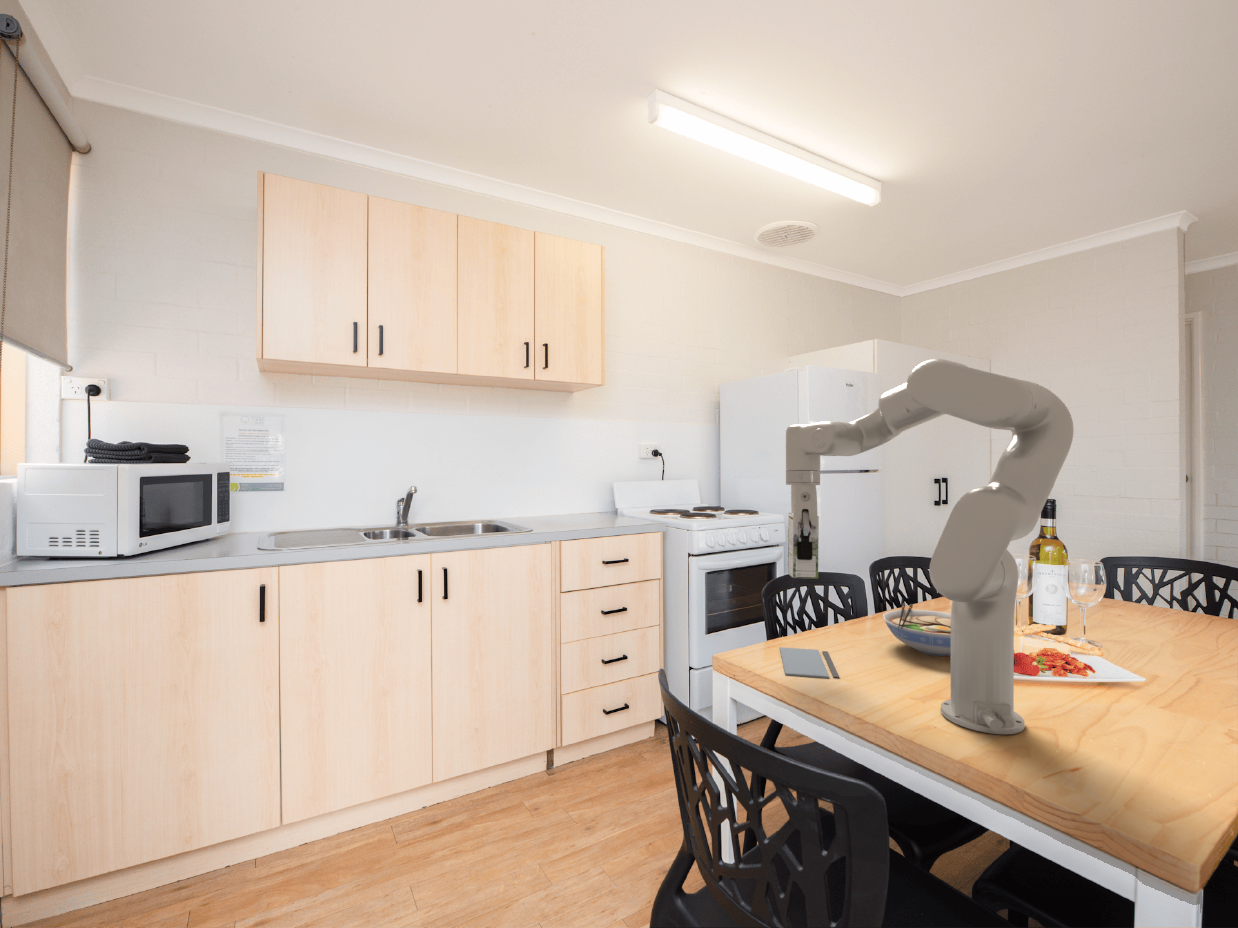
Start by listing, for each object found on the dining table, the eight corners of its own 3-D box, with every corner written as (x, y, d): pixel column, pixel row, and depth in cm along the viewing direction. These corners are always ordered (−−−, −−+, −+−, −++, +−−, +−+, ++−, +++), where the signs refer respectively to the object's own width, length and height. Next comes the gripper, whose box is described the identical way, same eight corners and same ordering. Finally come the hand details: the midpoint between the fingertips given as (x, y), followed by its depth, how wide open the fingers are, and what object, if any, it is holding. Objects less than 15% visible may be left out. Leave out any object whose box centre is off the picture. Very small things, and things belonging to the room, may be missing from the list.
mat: (829, 678, 122) (829, 676, 122) (785, 674, 124) (785, 673, 124) (818, 651, 140) (818, 649, 140) (779, 648, 142) (779, 647, 142)
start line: (839, 678, 122) (839, 676, 122) (833, 677, 122) (833, 676, 122) (827, 652, 139) (827, 651, 139) (822, 652, 139) (822, 650, 139)
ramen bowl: (991, 676, 123) (991, 638, 123) (875, 657, 135) (875, 622, 135) (988, 645, 145) (988, 612, 145) (888, 631, 157) (888, 601, 157)
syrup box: (812, 574, 134) (812, 512, 135) (819, 579, 129) (818, 514, 129) (787, 573, 135) (787, 511, 135) (792, 578, 129) (792, 514, 129)
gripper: (825, 479, 123) (825, 564, 123) (815, 477, 140) (815, 552, 140) (788, 479, 124) (788, 562, 124) (783, 477, 141) (783, 551, 141)
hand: (802, 556), depth 132 cm, fingers closed on syrup box, 6 cm apart
